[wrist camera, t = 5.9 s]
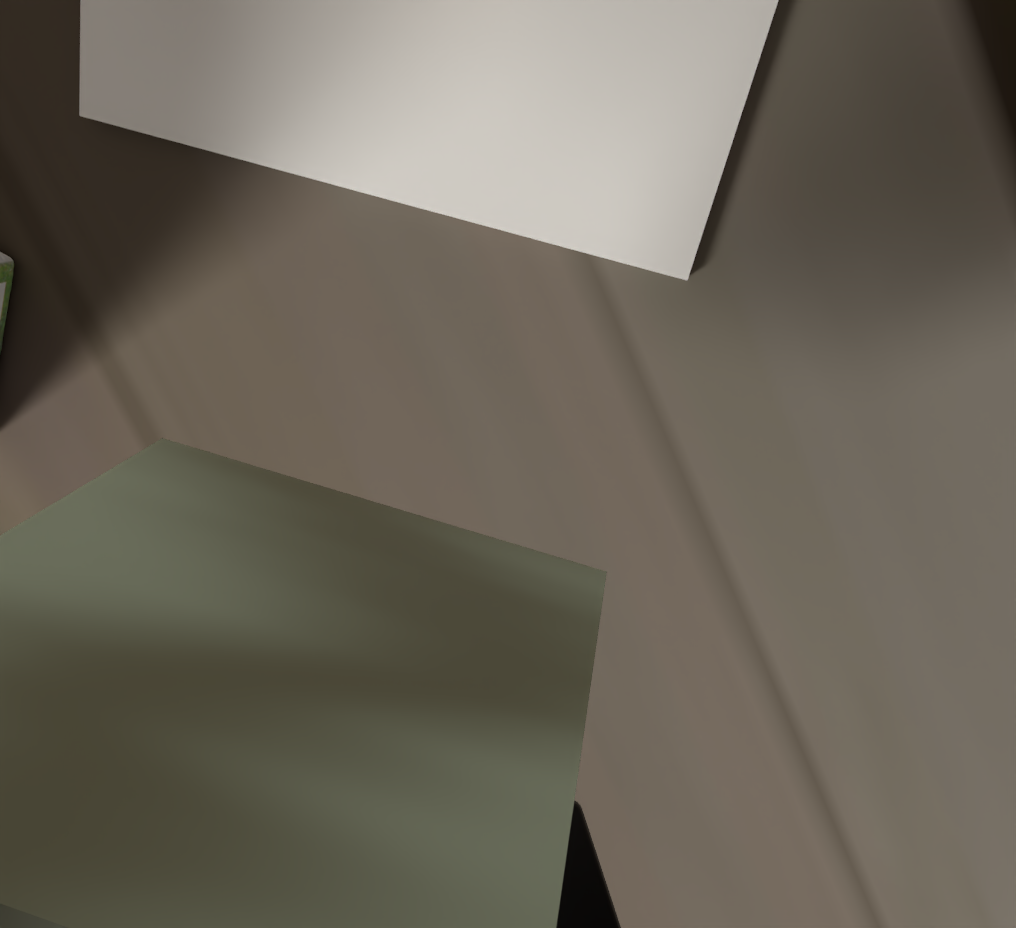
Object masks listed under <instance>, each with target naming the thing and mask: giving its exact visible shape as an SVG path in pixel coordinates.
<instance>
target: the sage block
mask: <svg viewBox="0 0 1016 928" xmlns="http://www.w3.org/2000/svg"><path fill="white" fill-rule="evenodd" d="M606 573H607V572H606V571H602V570H599V569H596V568H593V567H589V566H586V565H583V564H579V563H576V562H573V561H569V560H566V559H563V558H559V557H556V556H553V555H549V554H546V553H543V552H539V551H536V550H533V549H529V548H526V547H523V546H519V545H516V544H513V543H509V542H506V541H503V540H499V539H496V538H493V537H489V536H486V535H483V534H479V533H476V532H473V531H469V530H466V529H463V528H459V527H456V526H453V525H449V524H446V523H443V522H439V521H436V520H433V519H430V518H426V517H423V516H420V515H416V514H413V513H410V512H406V511H403V510H400V509H396V508H393V507H390V506H386V505H383V504H380V503H376V502H373V501H370V500H366V499H363V498H360V497H356V496H353V495H350V494H346V493H343V492H340V491H336V490H333V489H330V488H326V487H323V486H320V485H316V484H313V483H310V482H306V481H303V480H300V479H296V478H293V477H290V476H286V475H283V474H280V473H276V472H273V471H270V470H266V469H263V468H260V467H257V466H253V465H250V464H247V463H243V462H240V461H237V460H233V459H230V458H227V457H223V456H220V455H217V454H213V453H210V452H207V451H203V450H200V449H197V448H193V447H190V446H187V445H183V444H180V443H177V442H173V441H170V440H167V439H163V438H162V439H160V440H159V441H157V442H155V443H154V444H152V445H150V446H149V447H147V448H145V449H144V450H142V451H140V452H139V453H137V454H135V455H134V456H132V457H130V458H129V459H127V460H125V461H124V462H122V463H120V464H119V465H117V466H115V467H114V468H112V469H110V470H109V471H107V472H105V473H104V474H102V475H100V476H99V477H97V478H95V479H94V480H92V481H90V482H89V483H87V484H85V485H84V486H82V487H80V488H79V489H77V490H75V491H74V492H72V493H70V494H69V495H67V496H65V497H64V498H62V499H60V500H59V501H57V502H55V503H54V504H52V505H50V506H49V507H47V508H45V509H44V510H42V511H40V512H39V513H37V514H35V515H34V516H32V517H30V518H29V519H27V520H25V521H24V522H22V523H20V524H19V525H17V526H15V527H14V528H12V529H10V530H9V531H7V532H5V533H4V534H2V535H0V928H556V926H557V919H558V912H559V905H560V898H561V891H562V884H563V876H564V869H565V862H566V855H567V848H568V841H569V834H570V827H571V820H572V813H573V806H574V799H575V792H576V785H577V778H578V771H579V764H580V756H581V749H582V742H583V735H584V728H585V721H586V714H587V707H588V700H589V693H590V686H591V679H592V672H593V665H594V658H595V651H596V643H597V636H598V629H599V622H600V615H601V608H602V601H603V594H604V587H605V580H606Z"/></svg>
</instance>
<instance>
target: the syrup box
mask: <svg viewBox="0 0 1016 928" xmlns="http://www.w3.org/2000/svg"><path fill="white" fill-rule="evenodd" d="M13 269H14V262H13V260H12V258H11V257H9V256H7V255H5V254H3V253H2V252H0V353H1V348H2V340H3V333H4V327H5V321H6V316H7V310H8V303H9V297H10V291H11V287H12V278H13Z"/></svg>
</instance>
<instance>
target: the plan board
mask: <svg viewBox="0 0 1016 928" xmlns="http://www.w3.org/2000/svg"><path fill="white" fill-rule="evenodd" d="M778 1H779V0H80V99H79V116H82V117H85V118H89V119H93V120H97V121H100V122H104V123H108V124H111V125H115V126H119V127H122V128H126V129H130V130H133V131H137V132H141V133H145V134H148V135H152V136H156V137H159V138H163V139H167V140H170V141H174V142H178V143H181V144H185V145H189V146H193V147H196V148H200V149H204V150H207V151H211V152H215V153H218V154H222V155H226V156H229V157H233V158H237V159H241V160H244V161H248V162H252V163H255V164H259V165H263V166H266V167H270V168H274V169H277V170H281V171H285V172H288V173H292V174H296V175H300V176H303V177H307V178H311V179H314V180H318V181H322V182H325V183H329V184H333V185H336V186H340V187H344V188H348V189H351V190H355V191H359V192H362V193H366V194H370V195H373V196H377V197H381V198H384V199H388V200H392V201H396V202H399V203H403V204H407V205H410V206H414V207H418V208H421V209H425V210H429V211H432V212H436V213H440V214H443V215H447V216H451V217H455V218H458V219H462V220H466V221H469V222H473V223H477V224H480V225H484V226H488V227H491V228H495V229H499V230H503V231H506V232H510V233H514V234H517V235H521V236H525V237H528V238H532V239H536V240H539V241H543V242H547V243H551V244H554V245H558V246H562V247H565V248H569V249H573V250H576V251H580V252H584V253H587V254H591V255H595V256H598V257H602V258H606V259H610V260H613V261H617V262H621V263H624V264H628V265H632V266H635V267H639V268H643V269H646V270H650V271H654V272H658V273H661V274H665V275H669V276H672V277H676V278H680V279H683V280H688V277H689V274H690V271H691V268H692V265H693V262H694V259H695V256H696V252H697V249H698V246H699V243H700V240H701V237H702V234H703V231H704V228H705V225H706V222H707V219H708V216H709V213H710V209H711V206H712V203H713V200H714V197H715V194H716V191H717V188H718V185H719V182H720V179H721V176H722V173H723V170H724V166H725V163H726V160H727V157H728V154H729V151H730V148H731V145H732V142H733V139H734V136H735V133H736V130H737V127H738V123H739V120H740V117H741V114H742V111H743V108H744V105H745V102H746V99H747V96H748V93H749V90H750V87H751V84H752V80H753V77H754V74H755V71H756V68H757V65H758V62H759V59H760V56H761V53H762V50H763V47H764V44H765V40H766V37H767V34H768V31H769V28H770V25H771V22H772V19H773V16H774V13H775V10H776V7H777V4H778Z"/></svg>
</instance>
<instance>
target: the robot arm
mask: <svg viewBox="0 0 1016 928" xmlns="http://www.w3.org/2000/svg"><path fill="white" fill-rule="evenodd" d="M556 928H621V927H620V924H619V921H618V918H617V915H616V912H615V908H614V905H613V902H612V899H611V896H610V893H609V890H608V887H607V884H606V881H605V878H604V875H603V872H602V869H601V866H600V863H599V860H598V856H597V853H596V850H595V847H594V844H593V841H592V838H591V835H590V832H589V829H588V826H587V823H586V820H585V817H584V814H583V811H582V808H581V806H580V805H579V804H578V803H577V802H576V801H574V806H573V813H572V820H571V827H570V834H569V841H568V848H567V855H566V862H565V869H564V876H563V884H562V891H561V898H560V905H559V912H558V919H557V926H556Z"/></svg>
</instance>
